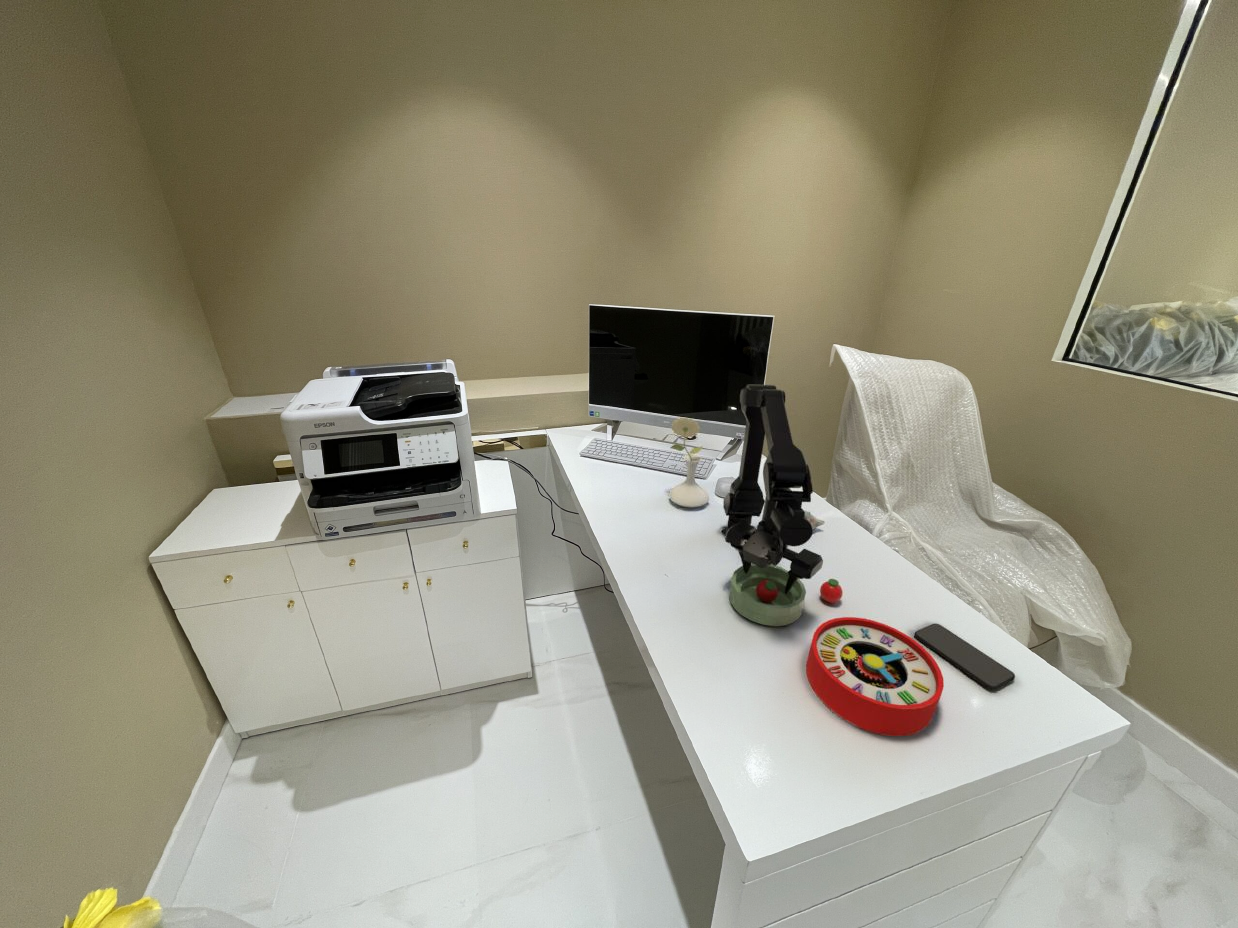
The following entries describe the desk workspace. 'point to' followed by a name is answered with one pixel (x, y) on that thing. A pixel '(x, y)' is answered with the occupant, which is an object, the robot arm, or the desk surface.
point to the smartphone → (965, 656)
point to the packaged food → (813, 520)
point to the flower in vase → (688, 468)
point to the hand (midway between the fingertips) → (766, 582)
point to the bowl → (759, 611)
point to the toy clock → (874, 676)
